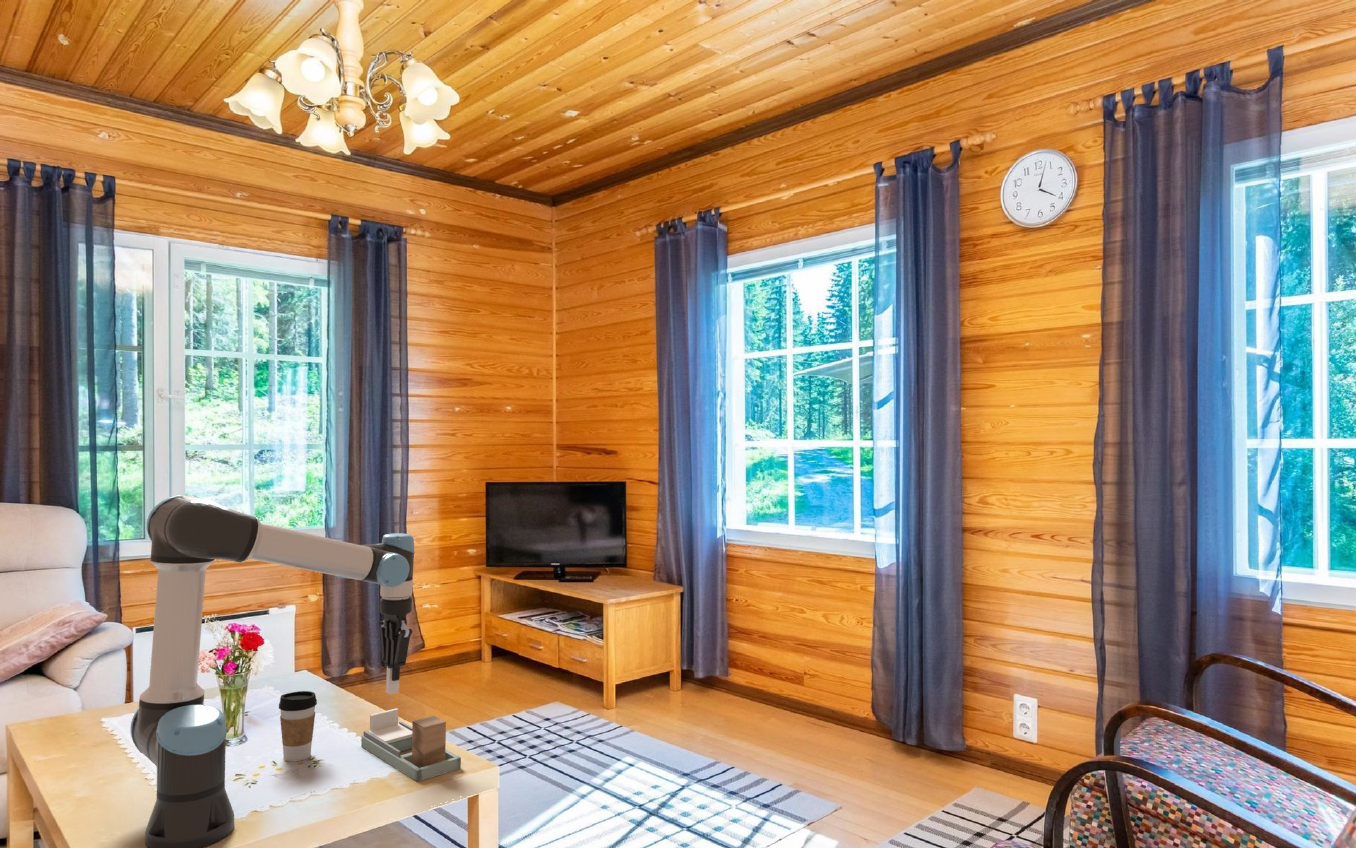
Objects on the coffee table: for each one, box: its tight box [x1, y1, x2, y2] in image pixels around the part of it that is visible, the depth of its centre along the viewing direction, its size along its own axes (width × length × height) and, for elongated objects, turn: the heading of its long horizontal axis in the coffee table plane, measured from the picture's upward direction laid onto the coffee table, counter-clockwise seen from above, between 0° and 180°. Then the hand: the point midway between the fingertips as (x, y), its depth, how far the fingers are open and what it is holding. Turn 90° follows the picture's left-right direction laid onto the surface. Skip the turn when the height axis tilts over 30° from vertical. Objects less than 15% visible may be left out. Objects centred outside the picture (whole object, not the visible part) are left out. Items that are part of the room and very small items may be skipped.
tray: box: [360, 721, 462, 782], centre depth 208 cm, size 28×11×4 cm, turn 45°
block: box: [411, 715, 447, 768], centre depth 201 cm, size 6×6×11 cm
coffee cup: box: [278, 690, 318, 762], centre depth 207 cm, size 8×8×15 cm
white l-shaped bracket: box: [367, 707, 412, 744], centre depth 214 cm, size 9×8×5 cm
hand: (392, 692), depth 213 cm, fingers closed
